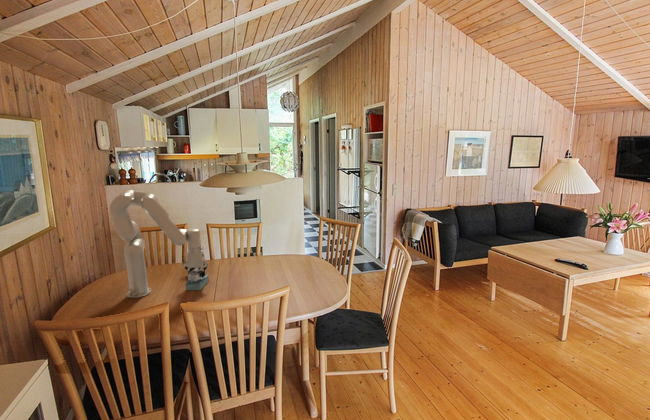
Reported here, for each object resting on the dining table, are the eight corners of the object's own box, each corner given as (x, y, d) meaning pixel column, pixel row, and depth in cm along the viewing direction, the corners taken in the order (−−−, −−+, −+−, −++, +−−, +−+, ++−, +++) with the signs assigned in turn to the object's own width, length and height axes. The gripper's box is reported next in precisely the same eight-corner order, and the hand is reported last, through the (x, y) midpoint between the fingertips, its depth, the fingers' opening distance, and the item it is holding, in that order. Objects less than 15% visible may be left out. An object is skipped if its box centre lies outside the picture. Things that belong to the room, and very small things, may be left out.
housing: (205, 275, 223) (205, 267, 222) (196, 281, 215) (195, 272, 214) (197, 274, 225) (197, 265, 224) (188, 280, 217) (187, 271, 216)
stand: (200, 290, 214) (200, 283, 213) (185, 290, 214) (185, 283, 214) (208, 280, 228) (208, 274, 227) (194, 280, 228) (194, 274, 227)
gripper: (211, 247, 219) (213, 274, 223) (182, 247, 220) (185, 274, 224) (206, 251, 212) (209, 279, 216) (177, 251, 213) (180, 279, 216)
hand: (197, 276), depth 220 cm, fingers closed on housing, 7 cm apart
